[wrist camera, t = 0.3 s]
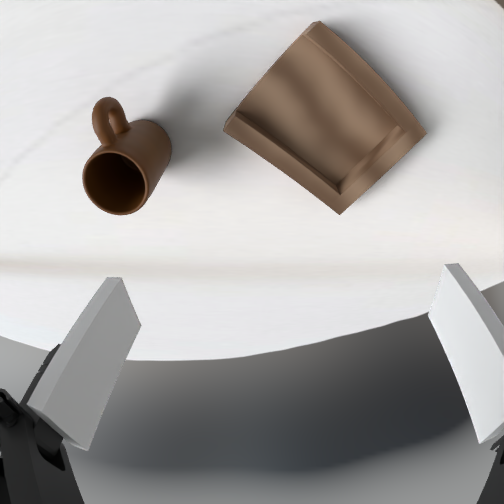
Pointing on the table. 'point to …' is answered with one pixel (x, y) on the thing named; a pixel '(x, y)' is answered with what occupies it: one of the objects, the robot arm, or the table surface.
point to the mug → (124, 160)
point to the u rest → (325, 119)
